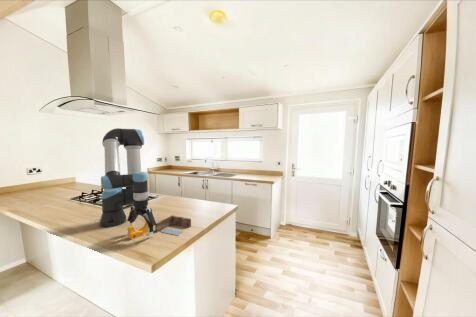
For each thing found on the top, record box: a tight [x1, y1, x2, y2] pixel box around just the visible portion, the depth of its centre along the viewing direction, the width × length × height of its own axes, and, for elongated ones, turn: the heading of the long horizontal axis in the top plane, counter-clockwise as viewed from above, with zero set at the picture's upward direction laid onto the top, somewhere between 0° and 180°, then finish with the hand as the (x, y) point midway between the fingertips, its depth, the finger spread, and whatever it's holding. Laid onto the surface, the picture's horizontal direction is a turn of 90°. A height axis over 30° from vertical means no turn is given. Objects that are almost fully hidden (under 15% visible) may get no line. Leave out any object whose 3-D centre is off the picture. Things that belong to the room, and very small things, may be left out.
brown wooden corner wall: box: [154, 215, 192, 233], centre depth 117 cm, size 15×15×5 cm
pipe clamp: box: [127, 220, 149, 240], centre depth 110 cm, size 12×4×6 cm, turn 144°
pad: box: [159, 227, 183, 236], centre depth 113 cm, size 13×5×1 cm, turn 68°
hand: (141, 235), depth 109 cm, fingers open, 12 cm apart
